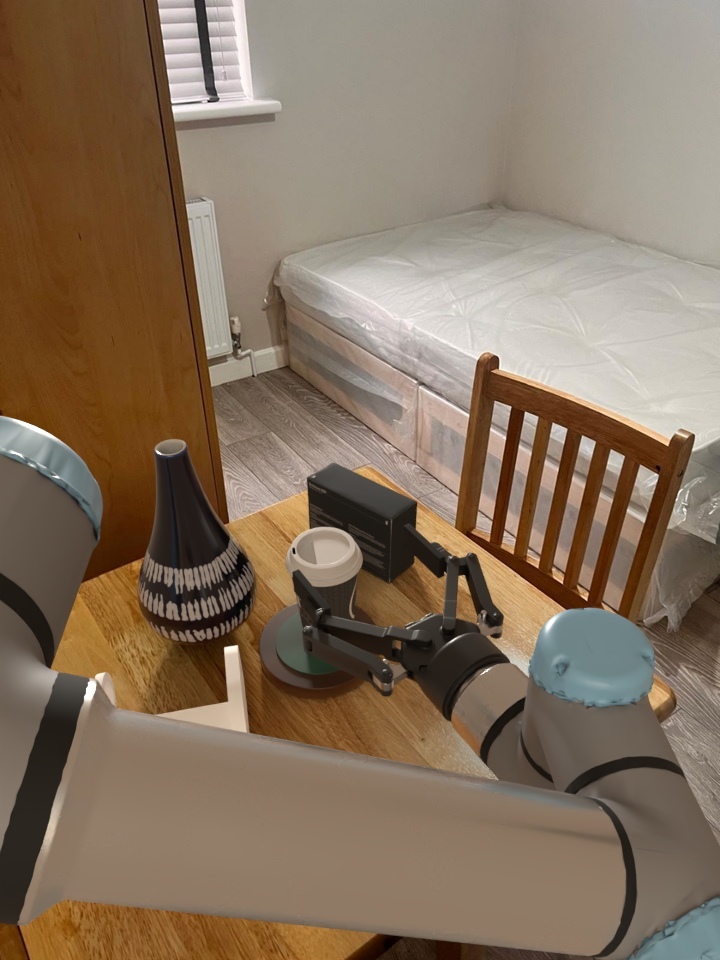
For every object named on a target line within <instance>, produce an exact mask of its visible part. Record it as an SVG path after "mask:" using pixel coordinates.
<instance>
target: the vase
mask: <svg viewBox="0 0 720 960" xmlns="http://www.w3.org/2000/svg"><path fill="white" fill-rule="evenodd" d="M153 457H154V468H155V469H154V470H155V509H154V519H153V523H152V529H151V534H150V537H149V541H148V544H147V547H146V551H145V554H144V556H143V559H142V562H141V566H140V569H139V573H138V577H137V584H136V585H137V586H136V594H137V600H138V601H137V602H138V607H139V610H140V612H141V614H142V617H143V619H144V621H145V622H146V623H147V625H148V626H149V627H150V629H151V630H153V631H154V633H156V634H157V635H159V636H160V637H161V638H163V639H164V640H167V641H169V642H171V643H174V644H178V645H181V646H189V647H196V646H197V647H198V646H207V645H211V644H215V643H217V642H220V641H223V640H224V639H226V638H228V637H230V636H231V635H234V633H235V632H237V631H238V630H239V629H240V628H241V627H242V626H243V625H244V624H245V623H246V622H247V620H248V619H249V617H250V615H251V614H252V612H253V610H254V607H255V605H256V602H257V598H258V592H259V584H258V583H259V582H258V576H257V572H256V568H255V566H254V563H253V561H252V558H251V557H250V555H249V553H248V552H247V550H246V549H245V547H243V545H242V544H241V542H240V541H239V540H238V539H237V538H236V536H234V535H233V533H232V532H231V531H230V530H229V529H228V527H227V526H226V525H225V524H224V522H223V521H222V520H221V518H220V517H219V516H218V514H217V513H216V511H215V509H214V508H213V506H212V505H211V503H210V501H209V499H208V496H207V494H206V492H205V491H204V488H203V486H202V483H201V481H200V479H199V477H198V474H197V471H196V468H195V466H194V463H193V460H192V457H191V454H190V450H189V445H188V444H187V442H185V440H182V439H179V438H171V439H165V440H162V441H160V442H159V443H157V444H156V445H155V446H154V448H153Z"/></svg>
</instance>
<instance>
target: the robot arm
mask: <svg viewBox="0 0 720 960" xmlns="http://www.w3.org/2000/svg"><path fill="white" fill-rule="evenodd" d="M101 491H102V490H101V488H100V486H99V484H98V481H97V480H96V478H94V475H93V474H92V472H91V471H90V469H89V468H88V465H87V464H86V463H85V461H84V460H83V459H82V458H81V456H80V455H78V453H77V452H76V451H74V450H73V449H72V448H71V447H70V446H68V445H67V444H66V443H65V442H63V441H61V439H59V438H57V437H56V436H54V435H53V434H51V433H50V432H47V431H46V430H44V429H42V428H39V427H38V426H36V425H33V424H30V423H28V422H25V421H23V420H19V419H16V418H12V417H9V416H5V415H0V924H1V925H2V924H3V925H10V926H11V925H12V926H22V927H26V926H28V925H29V924H31V923H32V922H33V921H35V920H36V919H38V918H39V917H40V916H41V915H43V914H44V913H46V912H47V911H49V910H50V909H51V908H52V907H54V906H55V905H57V904H60V903H61V902H64V901H74V902H81V903H82V902H84V903H91V904H92V903H94V904H101V905H111V906H121V907H128V908H129V907H130V908H139V909H148V910H156V911H157V910H158V911H164V912H165V911H167V912H176V913H183V914H185V913H186V914H193V915H194V914H195V915H203V916H213V917H222V918H230V919H239V920H240V919H241V920H250V921H257V922H258V921H259V922H268V923H275V924H277V923H278V924H287V925H296V926H306V927H312V928H313V927H314V928H324V929H332V930H341V931H352V932H360V933H369V934H378V935H388V936H397V937H406V938H416V939H425V940H434V941H444V942H452V943H463V944H470V945H480V946H489V947H498V948H508V949H517V950H527V951H536V952H544V953H552V954H553V953H554V954H563V955H573V956H578V957H583V958H592V959H597V960H720V843H719V841H718V840H717V837H716V835H715V833H714V831H713V829H712V827H711V825H710V824H709V821H708V819H707V818H706V816H705V813H704V812H703V809H702V807H701V805H700V803H699V801H698V799H697V798H696V796H695V793H694V792H693V790H692V787H691V786H690V783H689V782H688V779H687V777H686V775H685V772H684V770H683V768H682V765H681V764H680V762H679V760H678V757H677V756H676V753H675V751H674V749H673V747H672V745H671V743H670V741H669V739H668V737H667V735H666V733H665V731H664V728H663V726H662V725H661V722H660V721H659V718H658V717H657V715H656V713H655V710H654V708H653V706H652V704H651V701H650V698H649V694H650V693H651V692H652V689H653V685H654V683H655V678H654V673H655V667H656V663H655V661H656V655H655V649H654V648H653V645H652V643H651V641H650V640H649V638H648V636H647V635H646V634H645V633H644V632H643V630H642V629H640V627H638V626H637V625H636V624H635V623H634V622H632V621H631V620H629V619H627V618H626V617H624V616H622V615H620V614H617V613H616V612H612V611H610V610H606V609H603V608H599V607H598V608H597V607H584V608H582V607H578V608H570V609H565V610H562V611H560V612H558V613H556V614H554V615H552V616H551V617H550V618H548V620H547V621H546V622H545V623H544V624H543V625H542V627H541V628H540V630H539V632H538V635H537V639H536V642H535V647H534V650H533V654H532V655H531V657H530V659H529V660H528V664H529V665H528V666H527V667H528V668H527V670H528V671H527V672H528V675H527V674H526V673H525V672H524V671H523V670H522V669H520V668H519V666H517V664H514V663H512V662H511V660H510V658H509V657H508V656H507V655H506V654H505V653H504V652H503V651H502V650H501V649H500V648H499V647H498V646H497V645H496V644H494V642H493V641H492V640H490V639H489V638H488V637H490V638H492V639H494V640H497V639H500V638H502V635H503V627H504V620H505V615H504V613H503V612H501V610H500V609H499V608H498V607H497V606H496V605H495V603H494V602H493V601H494V600H493V598H492V596H491V593H490V590H489V587H488V583H487V581H486V578H485V575H484V572H483V569H482V566H481V563H480V560H479V557H478V555H477V554H476V553H475V552H466V554H465V556H463V557H459V556H457V555H454V554H452V553H450V552H449V550H447V549H446V548H444V546H442V544H440V543H439V542H437V541H433V542H430V541H429V540H428V539H427V538H426V537H425V536H423V534H421V532H419V531H418V530H417V528H416V529H415V528H414V527H413V526H411V525H410V524H407V525H405V526H404V533H403V545H404V546H405V547H406V548H407V549H408V550H409V551H410V552H411V553H412V554H413V555H414V556H415V557H414V558H416V559H417V560H418V561H419V562H420V563H421V564H422V565H424V566H425V568H427V569H428V570H429V571H430V572H431V574H433V576H435V577H436V578H437V579H440V578H443V577H445V576H446V577H445V588H444V598H443V599H444V600H443V612H442V613H434V612H430V613H428V614H426V615H425V616H423V617H421V619H419V620H416V621H415V620H414V621H412V622H409V623H408V624H405V627H401V626H397V625H389V626H387V627H383V626H379V625H376V624H375V625H376V626H375V625H370V624H366V623H361V622H357V621H352V620H348V619H344V618H339V617H335V616H331V608H330V606H329V605H328V604H327V603H326V602H325V600H324V599H323V598H322V597H321V595H320V594H319V593H318V592H317V591H316V589H315V588H314V587H313V586H312V585H311V583H310V582H309V581H308V580H307V578H306V577H305V576H304V575H303V574H302V572H301V571H300V570H299V569H298V570H296V571H293V572H292V575H293V580H292V585H293V592H294V593H296V594H297V596H298V597H299V598H300V599H301V600H300V607H301V614H302V616H303V617H304V618H305V620H306V621H307V622H308V624H309V625H310V626H306V627H304V628H303V630H302V635H303V646H304V651H305V652H306V653H308V654H310V655H312V656H314V657H316V658H318V659H320V660H322V661H325V662H327V663H329V664H331V665H333V666H335V667H337V668H339V669H341V670H343V671H345V672H347V673H349V674H352V675H354V676H356V677H358V678H360V679H362V680H364V681H365V682H366V683H367V684H370V685H371V686H372V688H373V689H374V690H375V691H376V692H378V694H380V695H381V696H382V697H385V698H386V697H387V698H388V697H391V696H392V695H393V693H394V687H395V686H396V685H398V684H399V683H401V682H402V681H404V680H405V679H408V680H410V681H413V682H414V683H415V684H417V686H419V688H420V690H421V691H422V693H423V694H424V696H425V697H426V698H427V699H428V700H429V701H430V703H431V704H432V706H433V707H434V708H435V709H436V710H437V711H438V712H439V714H441V716H442V717H443V718H444V719H445V721H448V722H449V723H451V725H452V728H453V729H454V731H456V733H457V734H458V735H459V736H460V737H461V738H462V740H463V741H464V742H465V743H466V744H467V746H469V748H470V749H471V750H472V751H473V753H475V755H476V756H477V757H478V758H479V759H480V760H481V762H482V763H483V764H484V765H485V767H486V768H488V770H489V771H491V773H492V774H493V775H494V776H495V777H496V778H497V779H494V778H489V777H485V776H480V775H479V776H478V775H473V774H469V773H463V772H459V771H458V772H457V771H452V770H447V769H441V768H438V767H431V766H426V765H420V764H416V763H410V762H405V761H400V760H395V759H389V758H384V757H379V756H373V755H368V754H362V753H358V752H353V751H347V750H341V749H337V748H331V747H327V746H321V745H314V744H309V743H304V742H299V741H294V740H288V739H283V738H277V737H273V736H267V735H261V734H257V733H252V732H249V733H246V732H241V731H236V730H231V729H225V728H220V727H215V726H209V725H204V724H199V723H194V722H188V721H183V720H178V719H172V718H167V717H162V716H156V715H157V714H151V713H145V712H140V711H134V710H130V709H125V708H119V707H118V706H117V707H115V706H114V705H113V704H112V702H111V701H110V699H109V698H108V696H107V694H106V693H105V691H104V690H103V688H102V687H101V685H100V683H99V682H98V680H96V679H95V678H93V677H87V676H82V675H77V674H73V673H72V674H71V673H66V672H61V671H57V670H54V669H52V666H53V663H54V660H55V658H56V656H57V653H58V650H59V647H60V644H61V641H62V638H63V635H64V633H65V629H66V627H67V625H68V621H69V620H70V619H69V618H70V616H71V613H72V610H73V607H74V605H75V603H76V599H77V596H78V593H79V590H80V587H81V586H82V582H83V579H84V577H85V574H86V571H87V568H88V566H89V562H90V559H91V557H92V554H93V552H94V550H95V548H96V547H97V546H98V544H99V542H100V539H101V531H102V529H101V525H102V524H101V523H102V518H103V513H104V504H103V503H104V502H103V496H102V492H101ZM445 574H446V575H445ZM461 576H464V578H465V581H466V586H467V588H468V592H469V594H470V598H471V601H472V604H473V607H474V610H475V615H476V623H475V622H472V621H469V620H465V619H461V618H457V608H458V592H459V577H461ZM296 594H295V595H296ZM396 642H400V648H398V647H397V643H396ZM369 652H370V653H369ZM371 653H374V654H379V656H382V657H383V658H384V659H383V660H382V659H381V658H380V657H379V658H378V657H376V656H375V655H373V654H371ZM391 662H394V663H397V664H392V663H391Z"/></svg>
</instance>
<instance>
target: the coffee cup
mask: <svg viewBox="0 0 720 960" xmlns="http://www.w3.org/2000/svg"><path fill="white" fill-rule="evenodd" d="M284 561H285V562H284V566H285V569H286V571H287V573H288V574H289V575H290V577H291V580H292V581H293V575H292V572H293V571H296V570H298V569H299V570H300V571H301V572H302V574H303V575H304V576H305V577H306V578H307V580H308V581H309V582H310V583H311V585H312V586H313V587H314V588H315V589H316V591H317V592H318V593H319V594H320V595H321V597H322V598H323V599H324V600H325V602H326V603H327V604H328V605H329V606H330V608H331V616H335V617H339V618H344V619H348V620H352V621H354V615H355V605H356V601H357V591H358V590H357V588H358V578H359V571H360V570H361V569H362V567H361V566H362V562H363V557H362V553H361V550H360V548H359V547H358V545H357V543H356V542H355V541H354V540H353V538H352V537H351V536H350V535H349V534H348V533H346V532H345V531H343V530H340V529H337V528H332V527H319V528H313V529H310V530H309V529H307V530H305V531H302V532H301V533H300V534H299V535H297V536H296V537H295V538H294V539H293V541H292V542H291V545H290V547H289V548H288V551H287V553H286V556H285V560H284ZM294 593H295V592H294ZM295 598H296V603H298V608H299V613H300V617H301V622H302V627H303V628H304V627H306V626H310V625H309V624H308V622H307V621H306V620H305V618H304V617H303V616H302V614H301V607H300V600H301V599H300V598H299V597H298V596H297V594H296V593H295Z"/></svg>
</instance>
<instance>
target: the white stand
mask: <svg viewBox="0 0 720 960" xmlns="http://www.w3.org/2000/svg"><path fill="white" fill-rule="evenodd" d="M223 652H224V655H223V656H224V666H225V680H226V692H227V693H226V694H227V701H225V702H218V703H215V704H208V705H202V706H196V707H191V708H186V709H180V710H174V711H170V712H169V711H168V712H164V713H158V714H155V715H156V716H162V717H167V718H172V719H178V720H183V721H188V722H194V723H199V724H204V725H209V726H215V727H220V728H225V729H231V730H236V731H241V732H246V733H250V725H249V714H248V704H247V697H246V688H245V687H246V686H245V677H244V676H245V675H244V672H243V665H242V659H241V652H240V648H239V645H238V644H236V645H230V646H224V648H223ZM94 679H96V680H98V682H99V683H100V685H101V687H102V688H103V690H104V691H105V693H106V694H107V696H108V698H109V699H110V701H111V702H112V704H113V705H114V706H115V707H117V708H118V705H117V698H116V691H115V687H114V682H113V679H112V677H111V674H110V673H109V672H108V671H106V672H100V673H97V674H95V676H94Z"/></svg>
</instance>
